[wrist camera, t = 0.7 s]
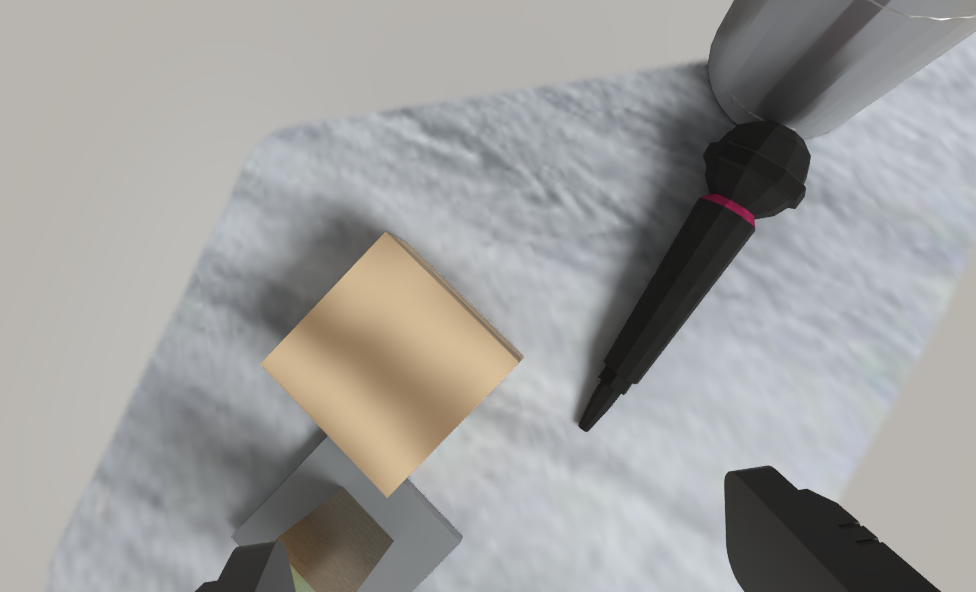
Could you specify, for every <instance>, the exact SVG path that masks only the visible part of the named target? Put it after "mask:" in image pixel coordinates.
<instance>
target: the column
mask: <svg viewBox="0 0 976 592" xmlns="http://www.w3.org/2000/svg"><path fill="white" fill-rule="evenodd" d="M278 540H281V541H282V542H283V543H284V545H285V547H286V550H287V554H288V558H289V563H290V567H291V572H292V576H293V581H294V585H295V590H296V592H357V591H358V589H359V588H360V587H361V585H362V584H363V583H364V581H365V580H366V579H367V577H368V576H369V574H370V573H371V572H372V570H373V569H374V568H375V566H376V565H377V564H378V562H379V561H380V559H381V558H382V557H383V555H384V554H385V553H386V551H387V550H388V549H389V547H390V546H391V544H392V543H393V542H394V540H393V539H392V538H391V537H390V536H389V535H388V534H387V533H386V532H385V531H384V530H383V529H382V528H381V527H380V525H379V524H378V523H377V522H376V521H375V520H374V519H373V518H372V517H371V516H370V515H369V514H368V513H367V512H366V511H365V510H364V509H363V507H362V506H361V505H360V504H359V503H358V502H357V501H356V500H355V499H354V498H353V497H352V496H351V495H350V494H349V493H348V492H347V490H346V489H345V488H344V487H342V488H341V489H340V490H338V491H337V492H336V493H335V494H333V495H332V496H331V497H329V498H328V499H327V500H326V501H324V502H323V503H322V504H320V505H319V506H318V507H316V508H315V509H314V510H313V511H311V512H310V513H309V514H307V515H306V516H305V517H304V518H302V519H301V520H300V521H298V522H297V523H296V524H295V525H293V526H292V527H291V528H289V529H288V530H287V531H286V532H284V533H283V534H282V535H280V536H279V537H278V538H277V539H275V540H274V541H278ZM266 542H269V541H266Z"/></svg>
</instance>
